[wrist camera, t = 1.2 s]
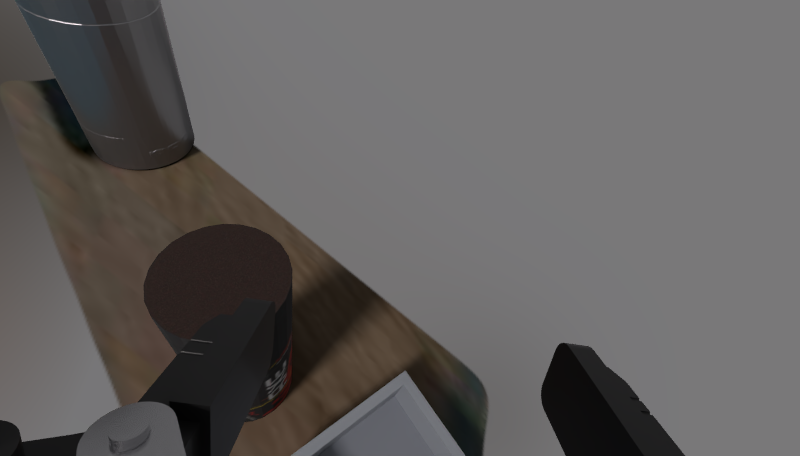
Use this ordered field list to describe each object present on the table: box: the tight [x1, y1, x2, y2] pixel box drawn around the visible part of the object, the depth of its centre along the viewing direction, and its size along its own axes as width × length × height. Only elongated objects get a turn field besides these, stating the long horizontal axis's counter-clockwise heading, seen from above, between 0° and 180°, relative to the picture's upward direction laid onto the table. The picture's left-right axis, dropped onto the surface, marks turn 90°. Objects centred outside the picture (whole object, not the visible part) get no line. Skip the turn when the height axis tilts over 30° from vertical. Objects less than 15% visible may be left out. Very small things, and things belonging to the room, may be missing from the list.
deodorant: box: [144, 224, 292, 422], centre depth 22 cm, size 6×6×15 cm
